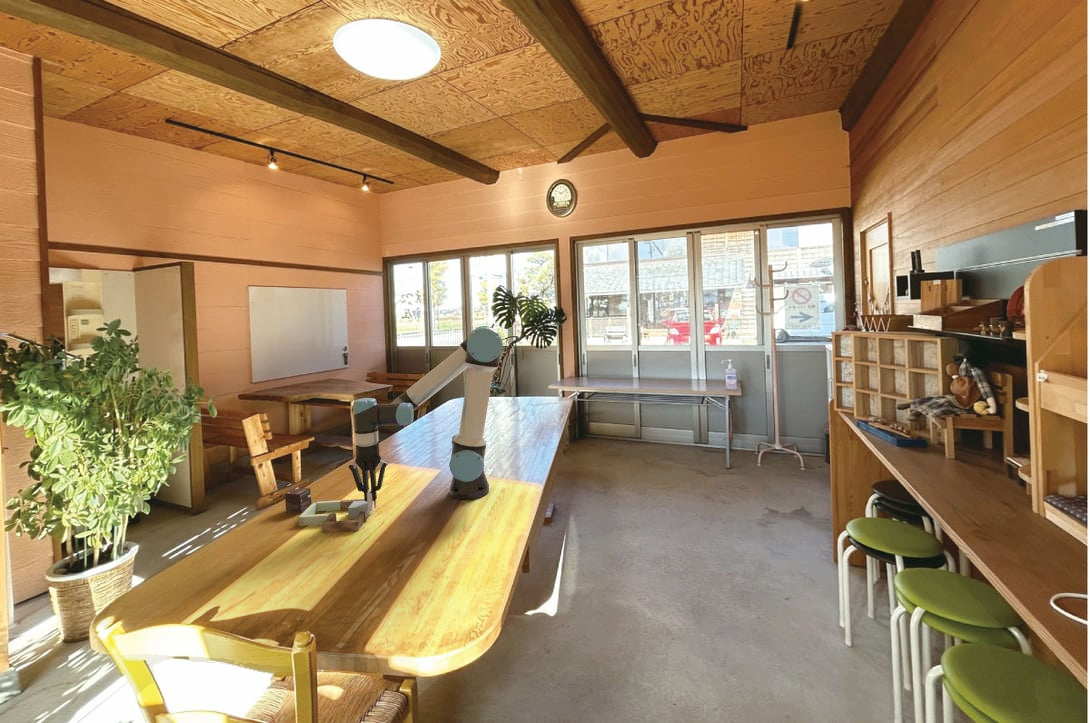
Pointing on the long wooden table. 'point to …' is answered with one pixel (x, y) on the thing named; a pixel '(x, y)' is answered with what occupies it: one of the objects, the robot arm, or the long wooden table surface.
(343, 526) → the open corridor walls
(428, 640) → the long wooden table surface
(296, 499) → the box
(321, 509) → the bay
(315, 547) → the long wooden table surface
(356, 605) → the long wooden table surface
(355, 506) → the grey square block
